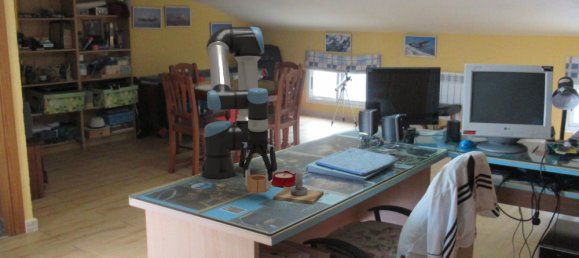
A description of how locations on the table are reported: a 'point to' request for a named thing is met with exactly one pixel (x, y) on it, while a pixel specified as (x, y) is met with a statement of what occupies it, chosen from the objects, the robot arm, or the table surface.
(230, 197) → the table surface
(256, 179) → the ring
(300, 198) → the post board
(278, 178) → the alarm clock
